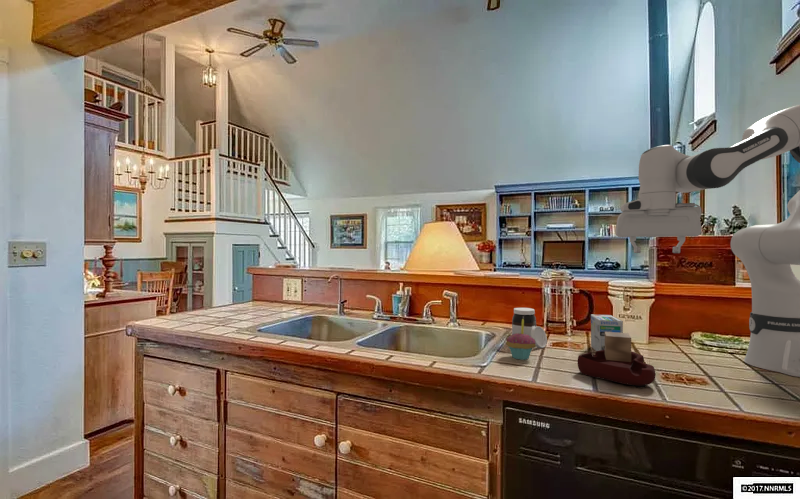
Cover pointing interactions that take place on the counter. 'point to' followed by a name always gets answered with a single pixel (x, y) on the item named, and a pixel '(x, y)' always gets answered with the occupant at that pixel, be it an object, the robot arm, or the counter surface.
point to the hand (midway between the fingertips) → (656, 253)
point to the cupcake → (520, 344)
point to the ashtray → (617, 369)
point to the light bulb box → (603, 329)
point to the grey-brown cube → (618, 346)
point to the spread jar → (528, 325)
